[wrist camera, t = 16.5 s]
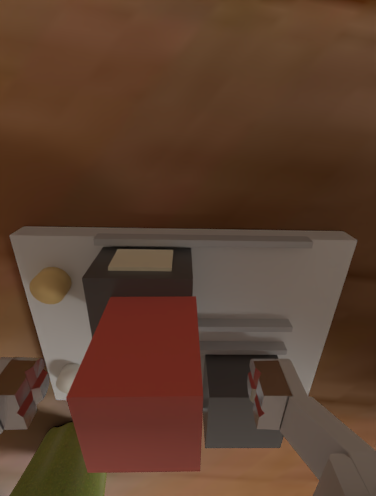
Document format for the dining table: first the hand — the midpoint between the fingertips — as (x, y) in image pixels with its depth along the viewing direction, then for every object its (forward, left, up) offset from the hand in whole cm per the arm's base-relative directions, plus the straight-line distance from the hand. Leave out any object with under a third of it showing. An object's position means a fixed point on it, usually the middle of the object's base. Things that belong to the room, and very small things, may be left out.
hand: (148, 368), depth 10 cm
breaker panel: (-1, +4, -8) cm, 9 cm away
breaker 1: (+1, 0, -6) cm, 6 cm away
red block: (0, 0, -3) cm, 3 cm away
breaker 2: (-6, +8, -6) cm, 11 cm away
